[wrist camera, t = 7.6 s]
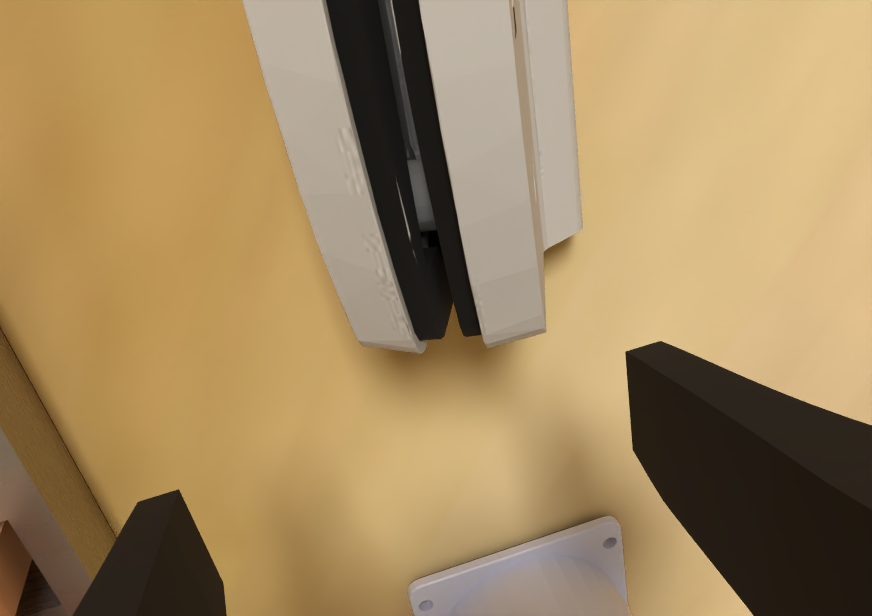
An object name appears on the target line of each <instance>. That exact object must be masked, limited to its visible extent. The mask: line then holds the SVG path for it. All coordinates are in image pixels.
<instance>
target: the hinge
mask: <svg viewBox="0 0 872 616" xmlns="http://www.w3.org/2000/svg"><path fill="white" fill-rule="evenodd" d="M242 2H243V5H244V9H245V12H246V16H247V20H248V23H249V27H250V30H251V34H252V38H253V41H254V45H255V48H256V52H257V56H258V59H259V63H260V67H261V70H262V74H263V77H264V81H265V84H266V87H267V90H268V93H269V96H270V100H271V103H272V106H273V109H274V112H275V115H276V119H277V122H278V125H279V128H280V131H281V134H282V138H283V141H284V144H285V147H286V150H287V153H288V157H289V160H290V163H291V166H292V169H293V172H294V176H295V179H296V182H297V185H298V188H299V191H300V195H301V197H302V200H303V203H304V206H305V209H306V212H307V214H308V217H309V220H310V223H311V226H312V229H313V231H314V234H315V237H316V240H317V243H318V246H319V249H320V251H321V254H322V256H323V259H324V261H325V264H326V266H327V269H328V271H329V274H330V276H331V279H332V281H333V284H334V286H335V289H336V291H337V294H338V296H339V299H340V301H341V304H342V306H343V308H344V311H345V313H346V315H347V318H348V320H349V322H350V324H351V327H352V329H353V331H354V334H355V336H356V338H357V340H358V341H359V342H360V343H361V345H362V346H366V347H373V348H381V349H389V350H396V351H404V352H411V353H419V354H421V353H423V352H424V351H425V350H426V347H427V344H428V341H429V340H433V339H442V338H443V337H444V335H445V331H446V328H447V324H448V320H449V316H450V312H451V308H452V304H453V301H454V305H455V309H456V313H457V317H458V321H459V324H460V328H461V330H462V333H463V335H464V336H466V337H468V336H477V335H482V338H483V342H484V344H485V345H486V347H487V348H491V347H495V346H499V345H502V344H506V343H509V342H513V341H517V340H520V339H524V338H527V337H531V336H535V335H538V334H542V333H545V332H546V310H545V283H544V256H543V254H544V251H545V250H547V249H548V248H550V247H551V246H553V245H555V244H557V243H559V242H561V241H563V240H565V239H567V238H568V237H570V236H572V235H574V234H576V233H578V232H579V231H581V230H582V228H583V222H582V207H581V193H580V178H579V164H578V149H577V135H576V120H575V106H574V92H573V77H572V63H571V48H570V34H569V19H568V5H567V0H242Z"/></svg>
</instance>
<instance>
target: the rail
mask: <svg viewBox="0 0 872 616" xmlns="http://www.w3.org/2000/svg"><path fill="white" fill-rule="evenodd" d="M6 520H8V521H9V523H10V524H11V526H12V527H13V529H14V531H15V532H16V534H17V535H18V537H19V538H20V540H21V541H22V543H23V545H24V546H25V548H26V549H27V551H28V552H29V554H30V556H31V557H32V561H31V564H30V568H29V571H28V574H27V578H26V581H25V584H24V588H23V591H22V594H21V598H20V601H19V604H18V608H17V611H16V614H15V616H72V615H73V613H74V612H75V610H76V608H77V607H78V605H79V603H80V602H81V600H82V598H83V597H84V595H85V593H86V592H87V590H88V588H89V586H90V585H91V583H92V581H93V580H94V578H95V576H96V574H97V573H98V571H99V569H100V567H101V566H102V564H103V562H104V560H105V559H106V557H107V555H108V553H109V552H110V550H111V548H112V546H113V544H114V543H115V541H116V537H115V535H114V534H113V532H112V530H111V528H110V526H109V524H108V523H107V521H106V519H105V517H104V515H103V514H102V512H101V510H100V508H99V506H98V504H97V503H96V501H95V499H94V497H93V495H92V494H91V492H90V490H89V488H88V486H87V485H86V483H85V481H84V479H83V477H82V475H81V474H80V472H79V470H78V468H77V466H76V465H75V463H74V461H73V459H72V457H71V456H70V454H69V452H68V450H67V448H66V446H65V445H64V443H63V441H62V439H61V437H60V436H59V434H58V432H57V430H56V428H55V427H54V425H53V423H52V421H51V419H50V417H49V416H48V414H47V412H46V410H45V408H44V407H43V405H42V403H41V401H40V399H39V398H38V396H37V394H36V392H35V390H34V388H33V387H32V385H31V383H30V381H29V379H28V378H27V376H26V374H25V372H24V370H23V369H22V367H21V365H20V363H19V361H18V359H17V358H16V356H15V354H14V352H13V350H12V349H11V347H10V345H9V343H8V341H7V339H6V338H5V336H4V334H3V332H2V330H1V329H0V522H3V521H6Z"/></svg>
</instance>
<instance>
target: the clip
mask: <svg viewBox="0 0 872 616" xmlns="http://www.w3.org/2000/svg"><path fill="white" fill-rule="evenodd" d="M31 561H32V557H31V556H30V554H29V552H28V551H27V549H26V548H25V546H24V545H23V543H22V541H21V540H20V538H19V537H18V535H17V534H16V532H15V531H14V529H13V527H12V526H11V524H10V523H9V521H8V520H6V521H3V522H0V616H15V614H16V611H17V608H18V604H19V601H20V598H21V594H22V591H23V588H24V584H25V581H26V578H27V574H28V571H29V568H30V564H31Z"/></svg>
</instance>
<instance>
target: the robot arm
mask: <svg viewBox="0 0 872 616" xmlns="http://www.w3.org/2000/svg"><path fill="white" fill-rule="evenodd" d="M626 366H627V379H628V392H629V405H630V419H631V432H632V445H633V451H634V452H635V454H636V456H637V458H638V459H639V461H640V463H641V465H642V466H643V468H644V470H645V472H646V473H647V475H648V477H649V478H650V480H651V482H652V483H653V485H654V487H655V488H656V490H657V491H658V493H659V495H660V496H661V498H662V499H663V501H664V502H665V504H666V505H667V506H668V508H669V509H670V510H671V511H672V513H673V514H674V515H675V517H676V518H677V519H678V520H679V522H680V523H681V524H682V526H683V527H684V528H685V529H686V531H687V532H688V533H689V535H690V536H691V537H692V538H693V540H694V541H695V542H696V543H697V545H698V546H699V547H700V548H701V550H702V551H703V552H704V553H705V555H706V556H707V557H708V558H709V560H710V561H711V562H712V563H713V565H714V566H715V567H716V569H717V570H718V571H719V572H720V574H721V575H722V576H723V577H724V579H725V580H726V581H727V582H728V584H729V585H730V586H731V587H732V589H733V590H734V591H735V592H736V594H737V595H738V596H739V597H740V599H741V600H742V601H743V602H744V604H745V605H746V606H747V607H748V609H749V610H750V611H751V613H752V614H753V615H754V616H872V425H869V424H866V423H862V422H859V421H856V420H853V419H850V418H847V417H845V416H842V415H839V414H836V413H834V412H831V411H828V410H825V409H823V408H820V407H817V406H814V405H811V404H809V403H806V402H804V401H801V400H798V399H796V398H793V397H791V396H788V395H786V394H783V393H781V392H778V391H776V390H773V389H771V388H769V387H766V386H764V385H761V384H759V383H757V382H754V381H752V380H750V379H747V378H745V377H743V376H740V375H738V374H736V373H734V372H731V371H729V370H727V369H724V368H722V367H720V366H718V365H715V364H713V363H711V362H709V361H706V360H704V359H702V358H700V357H697V356H695V355H693V354H691V353H688V352H686V351H684V350H681V349H679V348H677V347H674V346H672V345H669V344H667V343H664V342H662V341H659V342H656V343H652V344H649V345H646V346H643V347H639V348H636V349H633V350H630V351H626ZM608 538H609V539H608ZM606 539H608V540H606ZM605 540H606V541H605ZM408 597H409V600H410V604H411V607H412V610H413V614H414V616H633V615H632V613H631V611H630V610H629V608H628V599H627V588H626V577H625V566H624V555H623V544H622V533H621V527H620V524H619V523H618V521H617V520H616V519H615V518H614V517H612V516H605V517H601V518H598V519H595V520H592V521H589V522H586V523H583V524H580V525H577V526H574V527H571V528H568V529H566V530H563V531H560V532H557V533H554V534H551V535H548V536H545V537H542V538H539V539H536V540H533V541H530V542H527V543H524V544H521V545H518V546H515V547H512V548H509V549H506V550H503V551H500V552H497V553H494V554H491V555H488V556H485V557H482V558H479V559H476V560H473V561H470V562H467V563H464V564H461V565H458V566H456V567H453V568H450V569H447V570H444V571H441V572H438V573H435V574H432V575H429V576H426V577H423V578H420V579H417V580H415V581H413V582H412V583H411V584H410V585H409V587H408ZM426 600H428V601H426ZM423 601H426V602H423ZM422 602H423V603H422ZM72 616H227V615H226V605H225V595H224V585H223V581H222V579H221V577H220V575H219V573H218V571H217V569H216V567H215V565H214V562H213V560H212V558H211V556H210V554H209V552H208V550H207V548H206V546H205V543H204V541H203V539H202V537H201V535H200V533H199V531H198V529H197V527H196V524H195V522H194V520H193V518H192V516H191V514H190V512H189V510H188V508H187V505H186V503H185V501H184V499H183V497H182V495H181V493H180V491H179V490H175V491H172V492H169V493H166V494H162V495H159V496H156V497H153V498H149V499H146V500H143V501H140V502H138V503H137V505H136V506H135V508H134V510H133V511H132V513H131V515H130V516H129V518H128V520H127V521H126V523H125V525H124V527H123V528H122V530H121V532H120V534H119V536H118V537H117V539H116V541H115V543H114V544H113V546H112V548H111V550H110V552H109V553H108V555H107V557H106V559H105V560H104V562H103V564H102V566H101V567H100V569H99V571H98V573H97V574H96V576H95V578H94V580H93V581H92V583H91V585H90V586H89V588H88V590H87V592H86V593H85V595H84V597H83V598H82V600H81V602H80V603H79V605H78V607H77V608H76V610H75V612H74V613H73V615H72Z"/></svg>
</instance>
